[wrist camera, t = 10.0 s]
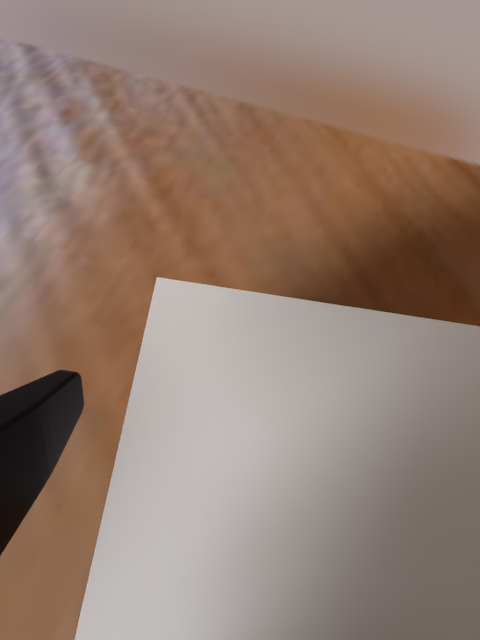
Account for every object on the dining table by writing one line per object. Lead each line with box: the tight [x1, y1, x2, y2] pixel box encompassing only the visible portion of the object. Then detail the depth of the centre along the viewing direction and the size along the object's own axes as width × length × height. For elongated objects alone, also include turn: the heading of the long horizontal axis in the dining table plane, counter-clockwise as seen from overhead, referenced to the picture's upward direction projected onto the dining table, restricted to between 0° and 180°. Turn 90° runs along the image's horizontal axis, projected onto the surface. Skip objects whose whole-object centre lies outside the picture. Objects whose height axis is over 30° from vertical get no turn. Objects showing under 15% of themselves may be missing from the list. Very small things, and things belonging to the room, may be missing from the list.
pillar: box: [75, 277, 480, 640], centre depth 10 cm, size 5×5×12 cm
